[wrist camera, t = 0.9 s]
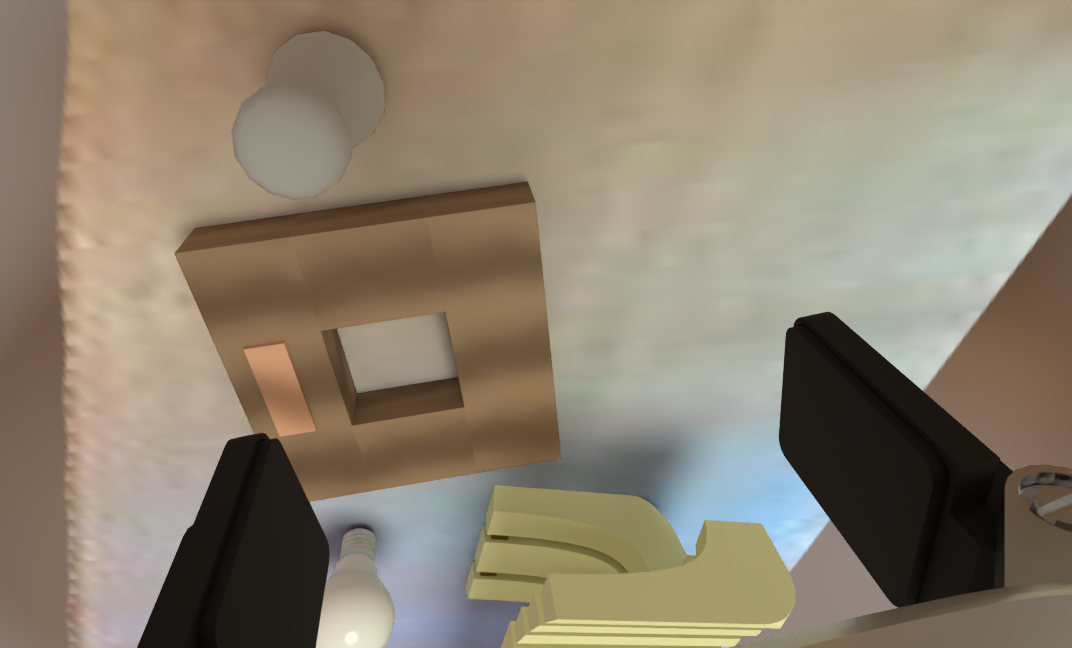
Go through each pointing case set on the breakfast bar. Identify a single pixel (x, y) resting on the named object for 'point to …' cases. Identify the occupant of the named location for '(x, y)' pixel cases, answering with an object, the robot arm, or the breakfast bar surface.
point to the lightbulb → (356, 598)
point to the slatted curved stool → (623, 574)
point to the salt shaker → (308, 115)
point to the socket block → (374, 296)
